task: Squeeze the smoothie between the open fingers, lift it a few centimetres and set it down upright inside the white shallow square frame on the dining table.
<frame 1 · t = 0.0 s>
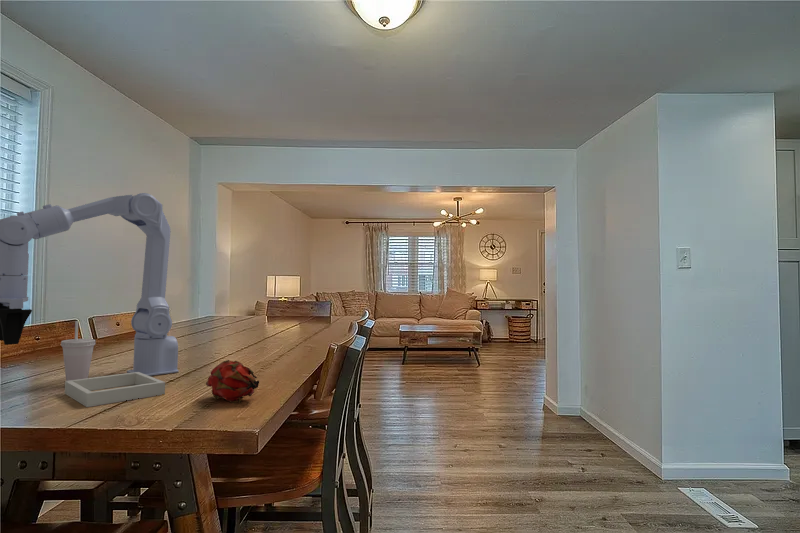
hand: (7, 342, 97), 10 cm above the table, tool pointing down, fingers open, 7 cm apart
dragon fruit: (233, 400, 96), on the table
white shallow square frame: (115, 393, 98), on the table
smoothie: (76, 385, 105), on the table
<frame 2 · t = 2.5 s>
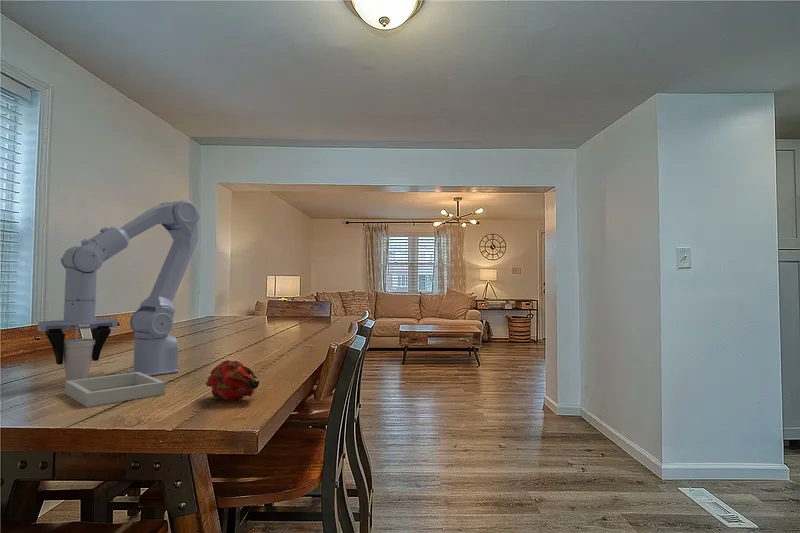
hand: (77, 362, 105), 5 cm above the table, tool pointing down, fingers closed on smoothie, 6 cm apart
smoothie: (76, 385, 105), on the table, touching gripper
everything else where it was.
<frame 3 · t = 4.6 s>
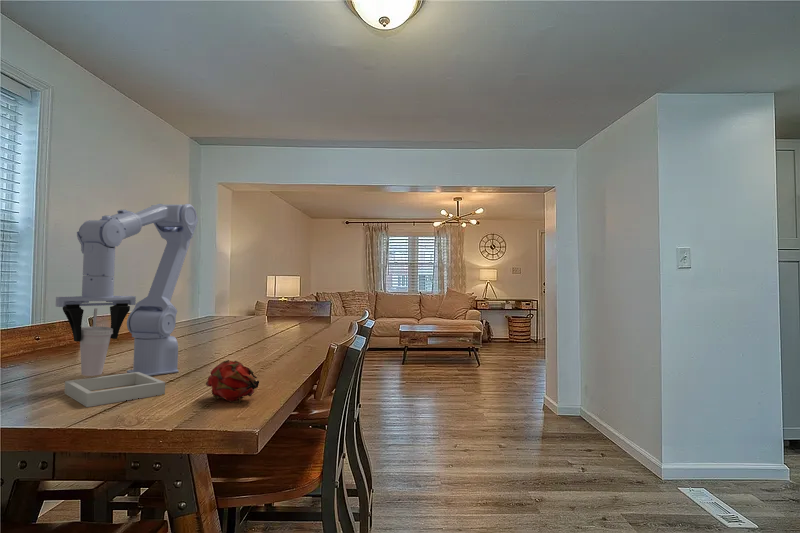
hand: (96, 339, 101), 10 cm above the table, tool pointing down, fingers closed on smoothie, 6 cm apart
smoothie: (91, 374, 102), point 3 cm above the table, touching gripper
everything else where it was.
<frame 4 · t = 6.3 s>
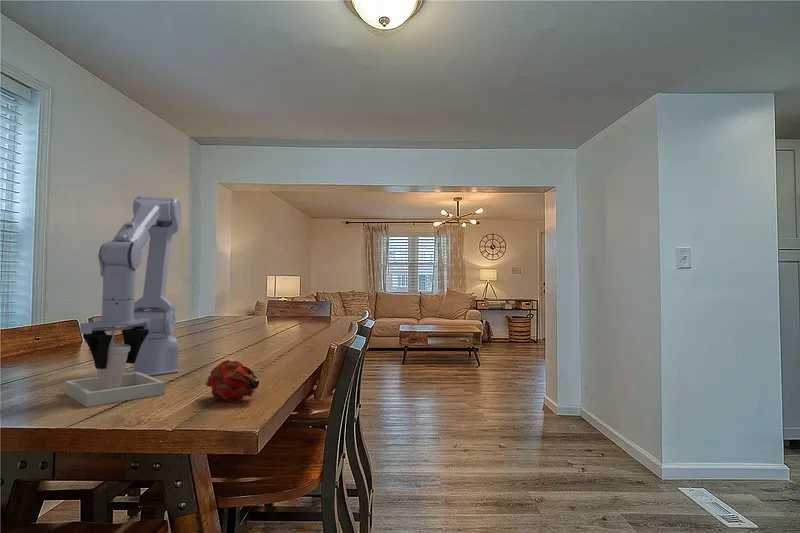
hand: (116, 365, 98), 6 cm above the table, tool pointing down, fingers closed on smoothie, 6 cm apart
smoothie: (108, 393, 98), resting in white shallow square frame, touching gripper
everything else where it was.
when the fingers open (6 cm above the table, at t = 7.0 s): smoothie stays where it is, resting in white shallow square frame.
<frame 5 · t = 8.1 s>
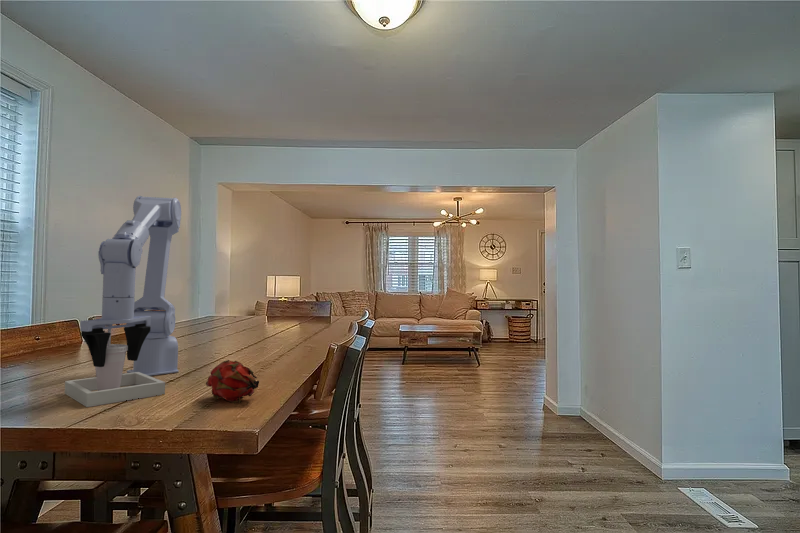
hand: (116, 363, 98), 6 cm above the table, tool pointing down, fingers open, 7 cm apart
smoothie: (108, 394, 98), resting in white shallow square frame
everything else where it was.
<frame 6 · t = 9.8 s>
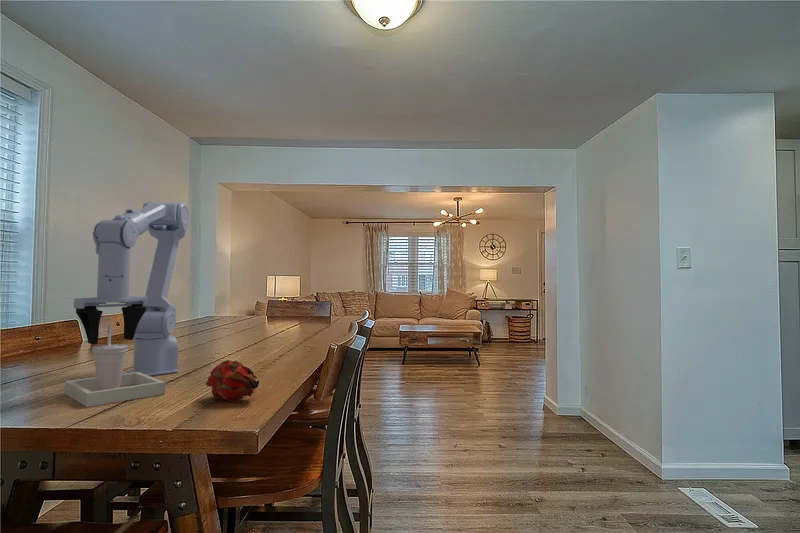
hand: (111, 341, 100), 10 cm above the table, tool pointing down, fingers open, 7 cm apart
nothing on the table moved.
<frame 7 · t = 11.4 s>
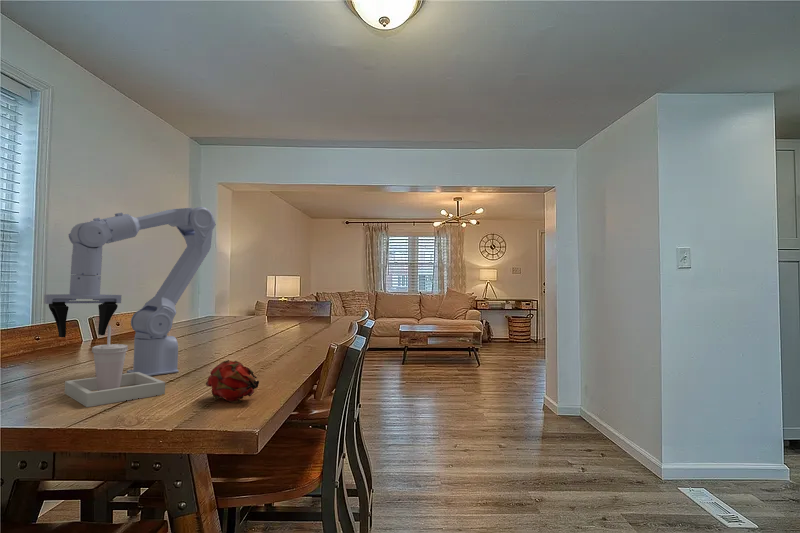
hand: (82, 335, 107), 10 cm above the table, tool pointing down, fingers open, 7 cm apart
nothing on the table moved.
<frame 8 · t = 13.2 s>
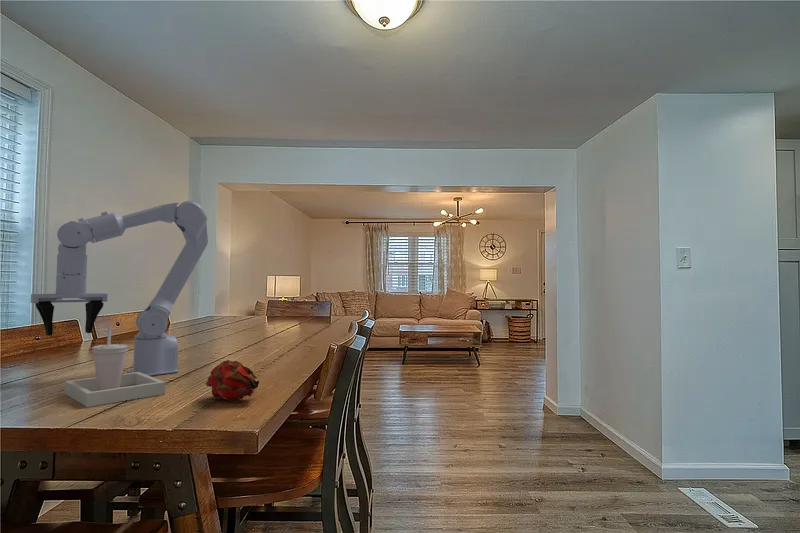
hand: (69, 333, 109), 10 cm above the table, tool pointing down, fingers open, 7 cm apart
nothing on the table moved.
at the end: smoothie inside the target area on the white shallow square frame (1.4 cm from its centre), point 0.0 cm above the white shallow square frame's base; smoothie tilted 0°; the gripper is holding nothing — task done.
